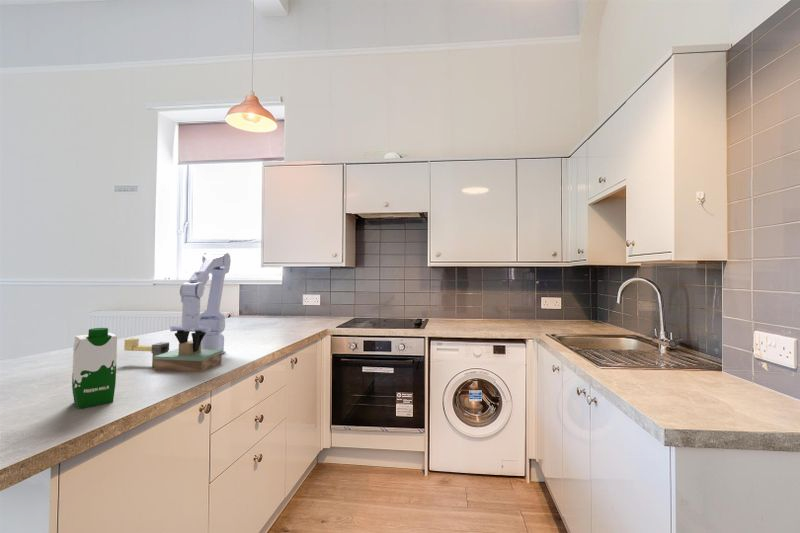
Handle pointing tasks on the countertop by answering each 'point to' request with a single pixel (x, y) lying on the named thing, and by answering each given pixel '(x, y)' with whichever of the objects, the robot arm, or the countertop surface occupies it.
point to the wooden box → (181, 361)
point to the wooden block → (136, 346)
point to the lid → (188, 353)
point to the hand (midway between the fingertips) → (189, 351)
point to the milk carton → (94, 368)
